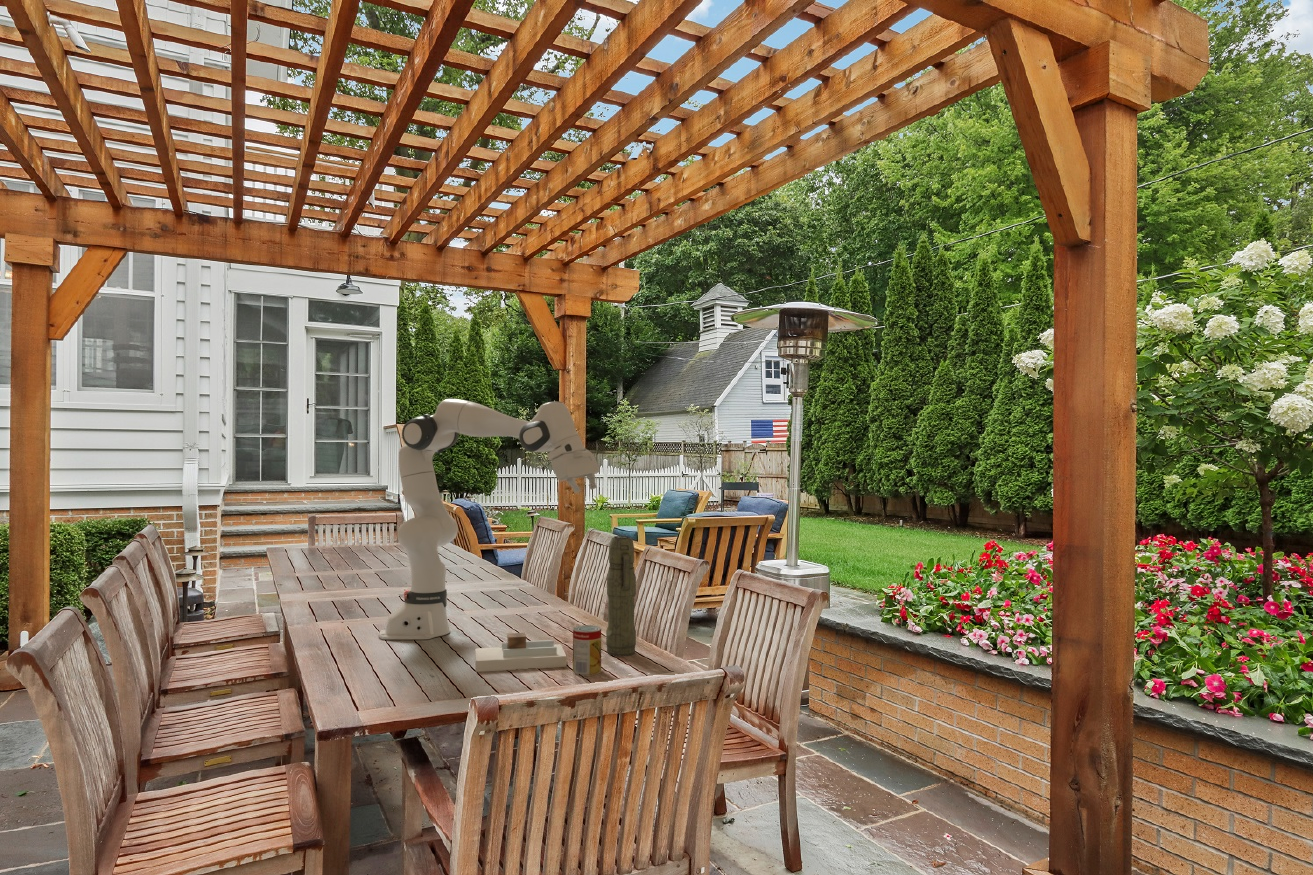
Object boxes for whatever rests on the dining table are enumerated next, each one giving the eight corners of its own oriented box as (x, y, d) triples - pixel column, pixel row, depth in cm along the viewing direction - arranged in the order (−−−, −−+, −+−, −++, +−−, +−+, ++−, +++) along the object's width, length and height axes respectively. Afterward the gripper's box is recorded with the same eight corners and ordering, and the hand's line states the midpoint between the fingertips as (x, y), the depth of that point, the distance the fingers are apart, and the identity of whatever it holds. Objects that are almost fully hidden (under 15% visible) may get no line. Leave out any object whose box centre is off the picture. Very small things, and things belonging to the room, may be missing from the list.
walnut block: (508, 655, 231) (508, 637, 231) (507, 650, 236) (507, 633, 236) (526, 654, 232) (526, 636, 232) (524, 649, 237) (524, 632, 237)
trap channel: (475, 671, 225) (475, 653, 225) (475, 658, 238) (475, 641, 238) (566, 666, 230) (566, 648, 230) (560, 654, 244) (560, 637, 244)
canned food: (604, 668, 228) (604, 625, 229) (596, 676, 221) (596, 632, 221) (577, 666, 230) (578, 624, 230) (568, 674, 223) (569, 630, 223)
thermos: (615, 659, 239) (616, 539, 239) (600, 649, 249) (600, 535, 250) (642, 655, 243) (643, 538, 243) (626, 646, 253) (627, 534, 254)
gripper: (579, 450, 264) (595, 490, 262) (543, 455, 245) (560, 498, 243) (594, 443, 261) (610, 483, 259) (559, 447, 243) (576, 490, 241)
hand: (586, 490), depth 251 cm, fingers open, 8 cm apart
